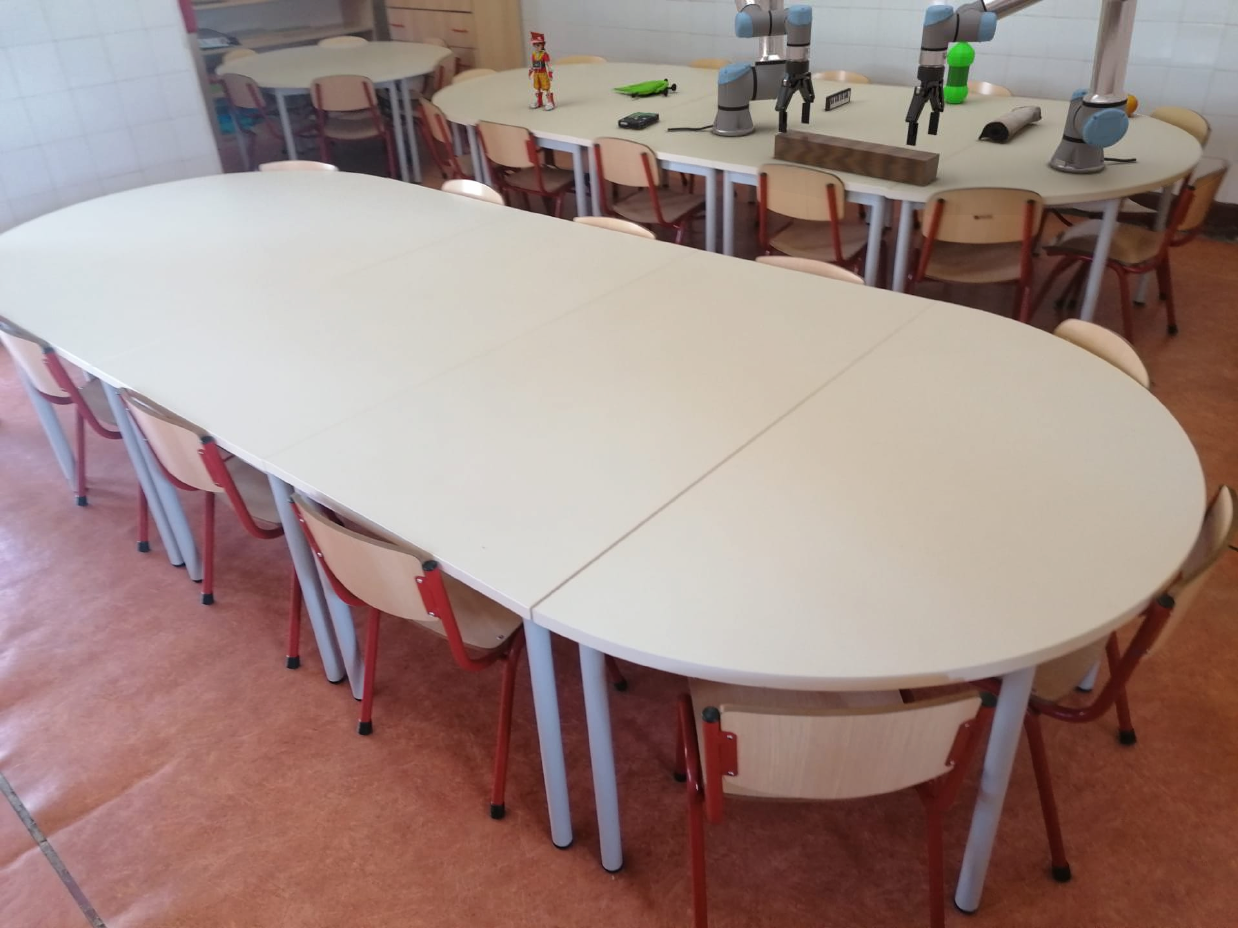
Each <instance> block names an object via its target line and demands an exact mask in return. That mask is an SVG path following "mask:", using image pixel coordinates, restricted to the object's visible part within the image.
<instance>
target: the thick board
mask: <svg viewBox="0 0 1238 928" xmlns="http://www.w3.org/2000/svg"><path fill="white" fill-rule="evenodd" d="M940 155H941V154H940V153H937V152H930V151H924V150H919V149H912V148H906V147H900V146H894V145H887V144H882V143H875V142H870V141H863V140H857V139H851V138H846V137H839V136H832V135H826V134H822V133H821V134H820V133H815V132H809V131H803V130H796V129H789V128H788V129H787V133H782V132H778V134H777V133H776V134H775V135H774V147H773V159H776V160H782V161H787V162H793V163H797V164H803V165H809V166H814V167H819V168H825V169H830V170H834V171H835V170H836V171H840V172H846V173H850V174H855V175H861V176H867V177H872V178H878V179H883V180H889V181H894V182H899V183H903V184H909V185H915V186H920V187H924V186H925V185H927V184H929V183H931V182H933V181H935V180H937V176H938V175H937V174H938V170H939V161H940Z"/></svg>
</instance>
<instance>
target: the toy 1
mask: <svg viewBox="0 0 1238 928" xmlns="http://www.w3.org/2000/svg"><path fill="white" fill-rule="evenodd" d="M529 33H530V35H531V36H528V37H527V38H528V39H529V40H528V41H527V43H529V44H530V43H531V44H532V48H533V50H534V51H533V52H532V55H531V58H530V59H531V63H530V66H528V74H527V75H528V76H527V77H528V79H529V80H531V75H532V74H533V84H532V85H533V86H532V87H533V88H534V89H535V90H536V92H534V95H535V97H536V100H535V101H533V102H531V105H530V108H531V109H535V108H538V107H542V106H544V101H543V100H544V99H543V95H544V92H546V94H545V97H546V99H547V103H546V104H545V106H544V110H546V111H549V110H553V109H554V107H555V106H556V105H555V99H554V92H551V91H550V90H551V86H552V84H551V82H552V81H553V80H554V77H553V73H554V71H555V70H554V69H552V68H551V63H550V61H551V59H550V58H551V57H550V54H549V53H548V52H547V50H546V48H545V46H546V44H547V41H545V35H544V33H543V32H542V33H539V32H535V31H529Z"/></svg>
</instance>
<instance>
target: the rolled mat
mask: <svg viewBox="0 0 1238 928" xmlns="http://www.w3.org/2000/svg"><path fill="white" fill-rule="evenodd" d="M1042 118H1043V116H1042V108H1041V106H1037V105H1036V106H1035V105H1025V106H1019V107H1018V106H1017V107H1015V108H1012V110H1011V112H1008V113H1006V114H1003V115H1002V116H1000V117H998V118H995V119H994V120H992V121H989V122H987V123H986V124H985V125H984V127H983V128H982V130H981V133H980V134H979V136H978V137H977V138H978V141H981V140H982V139H989V140H991V141H992V142H996V143H1002V144H1004V143H1005V142H1007V141H1008V140H1009V139H1010V138H1012V137H1013V135H1014V134H1015V133H1016V132H1018V131H1019V130H1021V128H1023V127H1024V126H1026V125H1027V124H1031V123H1037V122H1039V121H1041V120H1042Z"/></svg>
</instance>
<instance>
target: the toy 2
mask: <svg viewBox="0 0 1238 928" xmlns="http://www.w3.org/2000/svg"><path fill="white" fill-rule="evenodd" d="M669 85H670V83H669V79H668V78H664V79H663V80H649V81H644V82H640V83H634V84H629V85H627V86H621V87H613V88H612V89H613V90H616V91H619V92H623V93H627V94H628V93H629V94H631V95H630V96H631V98H632V99H634V98H636V96H637V95H650V94H652V93H654V94H658V93H662V95H663V96H665V97H667V96H668V95H669V90H671V91H672V92H676V91H677V84H676V83H672V84H671V86H669Z"/></svg>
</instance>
